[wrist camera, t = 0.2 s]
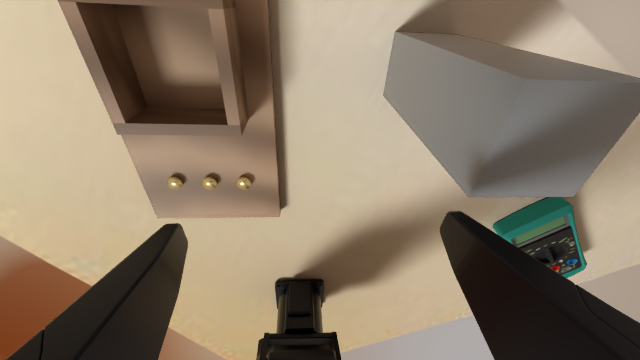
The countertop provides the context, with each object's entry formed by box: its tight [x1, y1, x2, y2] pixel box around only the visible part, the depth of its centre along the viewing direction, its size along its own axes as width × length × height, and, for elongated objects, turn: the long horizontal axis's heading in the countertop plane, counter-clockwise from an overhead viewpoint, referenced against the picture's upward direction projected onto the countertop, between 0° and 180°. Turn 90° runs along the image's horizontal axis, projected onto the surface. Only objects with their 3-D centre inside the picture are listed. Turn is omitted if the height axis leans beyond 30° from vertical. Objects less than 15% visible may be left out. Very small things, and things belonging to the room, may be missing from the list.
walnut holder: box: [58, 0, 281, 218], centre depth 20 cm, size 19×12×4 cm, turn 177°
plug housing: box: [383, 32, 640, 197], centre depth 14 cm, size 4×4×13 cm
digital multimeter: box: [493, 197, 587, 278], centre depth 32 cm, size 7×15×3 cm, turn 38°
